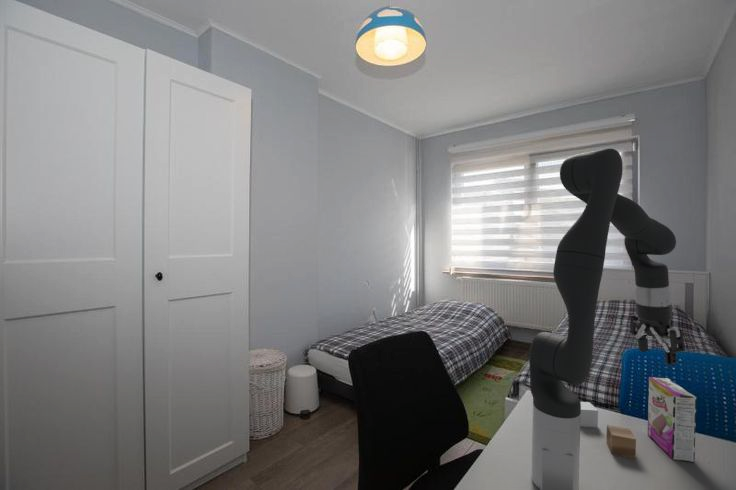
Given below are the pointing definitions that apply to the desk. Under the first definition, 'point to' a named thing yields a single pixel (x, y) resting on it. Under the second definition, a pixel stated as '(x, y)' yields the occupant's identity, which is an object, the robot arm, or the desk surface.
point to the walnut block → (621, 441)
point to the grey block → (588, 415)
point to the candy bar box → (672, 418)
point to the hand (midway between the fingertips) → (656, 357)
